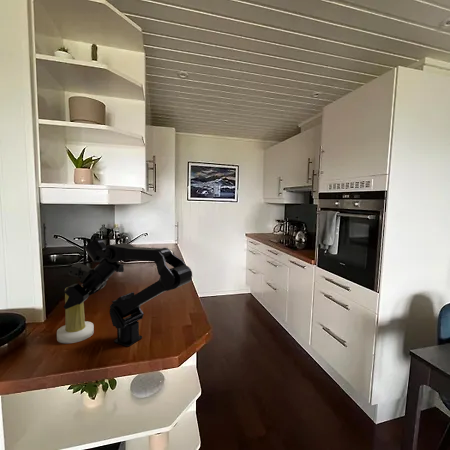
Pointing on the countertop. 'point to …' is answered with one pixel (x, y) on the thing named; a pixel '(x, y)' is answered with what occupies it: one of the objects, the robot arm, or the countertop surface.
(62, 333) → the plinth
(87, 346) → the countertop surface
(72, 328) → the vase
